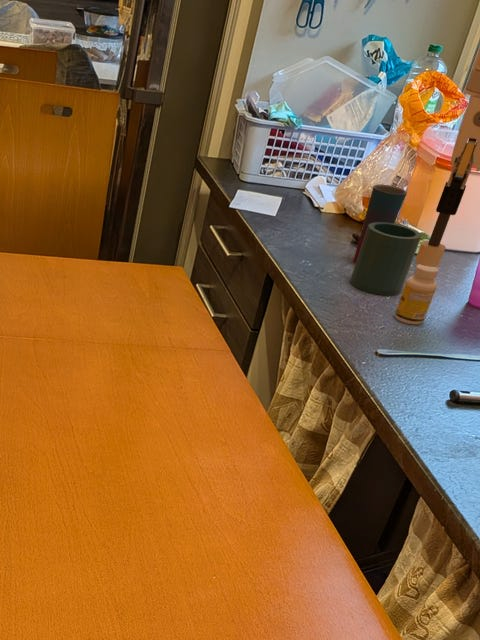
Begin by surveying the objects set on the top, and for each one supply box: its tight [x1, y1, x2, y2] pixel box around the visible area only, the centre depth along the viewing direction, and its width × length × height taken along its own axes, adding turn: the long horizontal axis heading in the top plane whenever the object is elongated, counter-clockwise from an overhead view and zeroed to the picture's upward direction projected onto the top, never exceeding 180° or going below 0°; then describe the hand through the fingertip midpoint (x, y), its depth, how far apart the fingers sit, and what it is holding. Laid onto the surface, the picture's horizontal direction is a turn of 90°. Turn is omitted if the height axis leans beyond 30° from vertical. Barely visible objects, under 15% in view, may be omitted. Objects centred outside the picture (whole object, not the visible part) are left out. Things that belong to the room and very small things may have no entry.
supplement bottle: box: [394, 263, 440, 326], centre depth 174 cm, size 5×5×10 cm
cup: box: [353, 183, 408, 264], centre depth 197 cm, size 7×7×15 cm
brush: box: [414, 181, 463, 268], centre depth 156 cm, size 4×4×14 cm
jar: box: [349, 222, 422, 296], centre depth 187 cm, size 10×10×11 cm
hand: (446, 210), depth 155 cm, fingers closed on brush
